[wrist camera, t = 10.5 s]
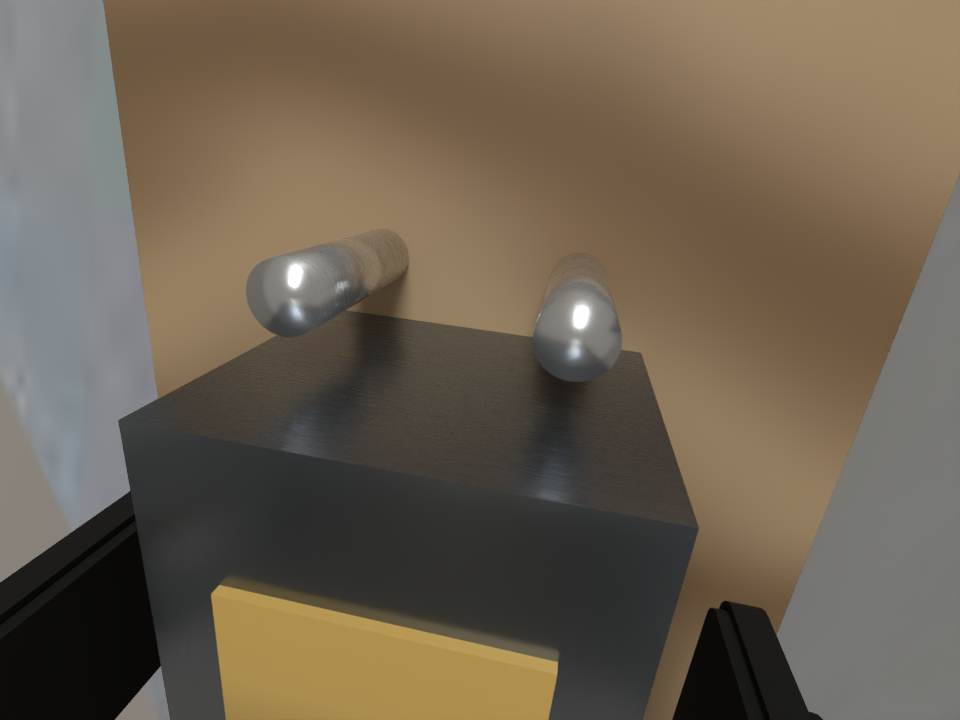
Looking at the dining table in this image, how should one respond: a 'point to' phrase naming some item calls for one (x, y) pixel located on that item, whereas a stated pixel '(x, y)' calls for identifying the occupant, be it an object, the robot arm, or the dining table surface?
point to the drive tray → (565, 212)
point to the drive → (408, 530)
